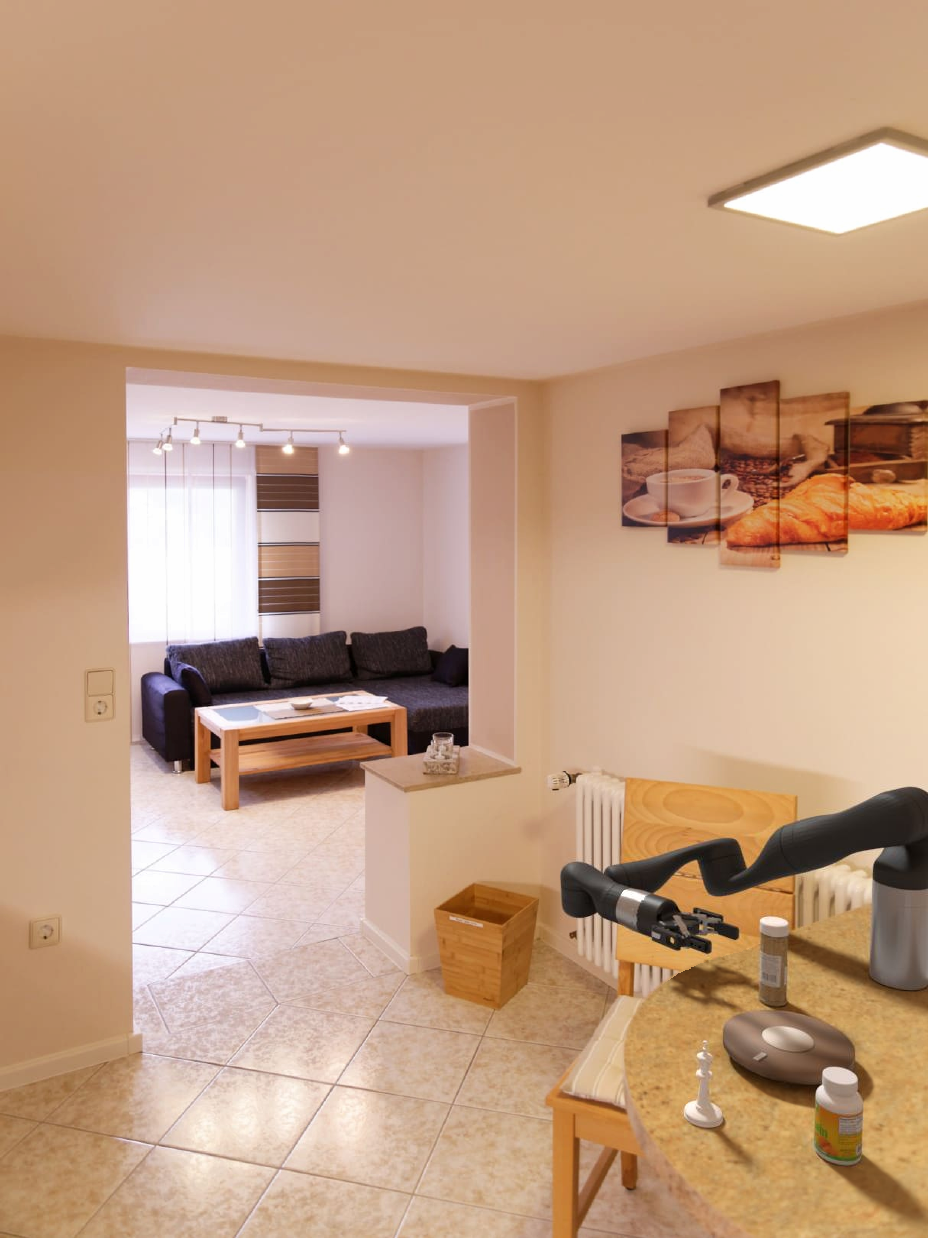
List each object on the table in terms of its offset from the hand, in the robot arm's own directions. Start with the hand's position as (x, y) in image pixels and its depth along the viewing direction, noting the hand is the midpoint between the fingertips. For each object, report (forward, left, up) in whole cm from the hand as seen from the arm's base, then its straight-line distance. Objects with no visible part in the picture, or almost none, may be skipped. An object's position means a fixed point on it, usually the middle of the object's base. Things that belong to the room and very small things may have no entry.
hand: (724, 941), depth 158 cm
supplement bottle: (+30, +35, -7) cm, 47 cm away
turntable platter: (+15, +20, -6) cm, 26 cm away
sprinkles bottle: (0, +9, -7) cm, 12 cm away
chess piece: (+36, +20, -7) cm, 42 cm away
